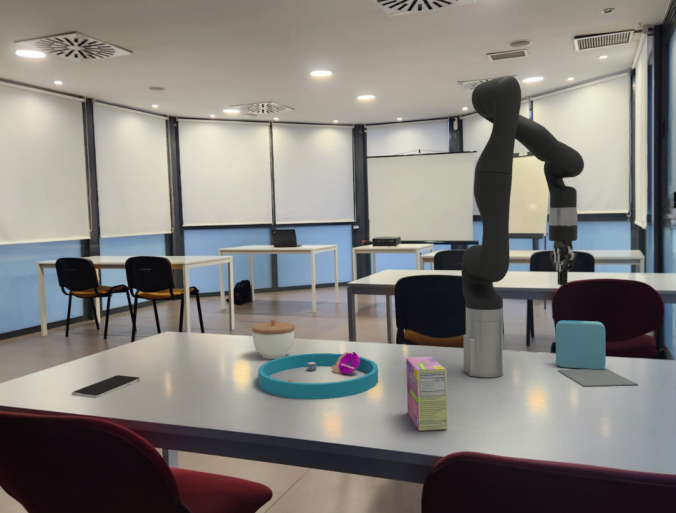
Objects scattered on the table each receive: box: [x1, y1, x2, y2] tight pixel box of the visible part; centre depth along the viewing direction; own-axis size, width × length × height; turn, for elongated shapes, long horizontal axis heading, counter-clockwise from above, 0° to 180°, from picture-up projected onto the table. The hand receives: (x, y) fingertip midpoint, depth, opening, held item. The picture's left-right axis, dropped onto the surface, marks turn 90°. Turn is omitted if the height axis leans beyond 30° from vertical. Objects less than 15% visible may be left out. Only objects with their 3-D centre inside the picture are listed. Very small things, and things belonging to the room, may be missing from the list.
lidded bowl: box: [251, 318, 296, 360], centre depth 166 cm, size 13×13×11 cm
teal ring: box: [257, 351, 379, 400], centre depth 140 cm, size 30×30×6 cm
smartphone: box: [71, 374, 141, 399], centre depth 137 cm, size 8×1×15 cm
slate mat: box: [557, 368, 638, 388], centre depth 138 cm, size 13×14×1 cm
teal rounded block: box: [555, 319, 607, 369], centre depth 148 cm, size 12×4×12 cm, turn 67°
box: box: [405, 356, 448, 432], centre depth 110 cm, size 10×6×12 cm, turn 5°
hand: (562, 284), depth 158 cm, fingers closed
